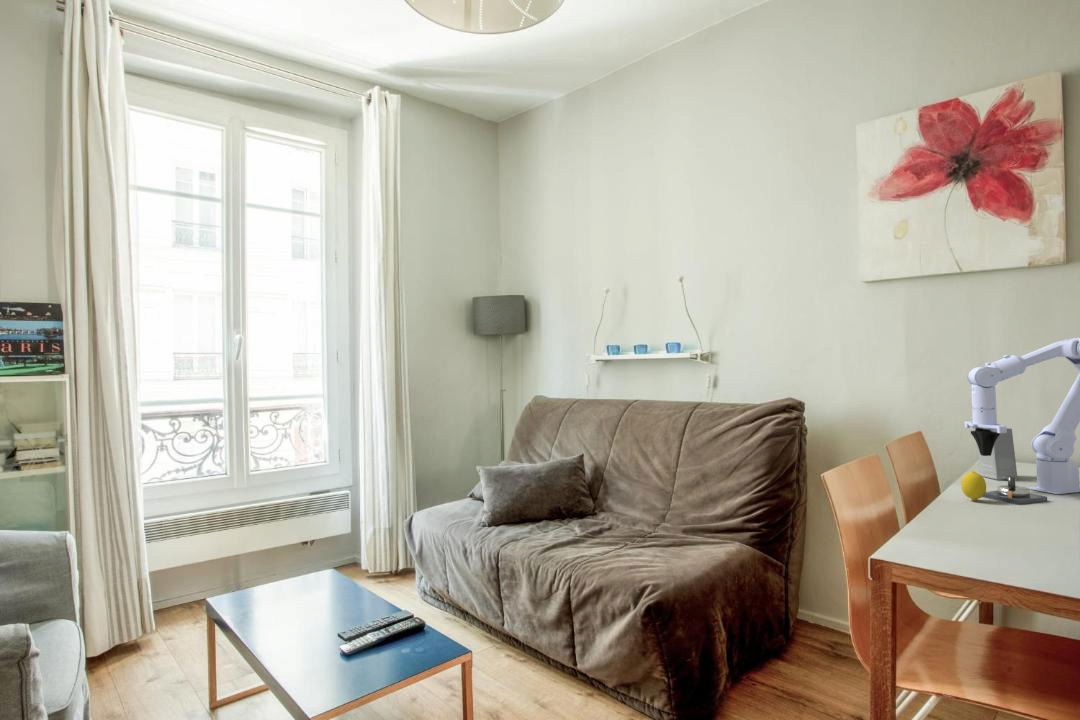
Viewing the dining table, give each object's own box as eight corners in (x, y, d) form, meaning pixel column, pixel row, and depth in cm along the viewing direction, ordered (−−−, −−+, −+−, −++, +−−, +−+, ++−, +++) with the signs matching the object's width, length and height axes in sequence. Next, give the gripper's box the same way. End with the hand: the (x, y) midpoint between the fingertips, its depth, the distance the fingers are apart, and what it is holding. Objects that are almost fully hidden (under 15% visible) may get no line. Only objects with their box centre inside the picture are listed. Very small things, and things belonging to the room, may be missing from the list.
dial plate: (1010, 493, 172) (1009, 482, 172) (1047, 501, 162) (1046, 489, 162) (981, 496, 169) (981, 485, 169) (1017, 504, 159) (1017, 493, 160)
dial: (991, 492, 168) (990, 474, 168) (1010, 489, 170) (1009, 471, 170) (1017, 497, 161) (1016, 478, 161) (1036, 495, 163) (1036, 476, 163)
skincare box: (1018, 480, 188) (1016, 428, 188) (994, 480, 189) (992, 429, 189) (998, 474, 197) (996, 425, 197) (975, 475, 197) (974, 426, 197)
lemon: (978, 498, 167) (977, 469, 167) (991, 503, 162) (990, 473, 162) (957, 498, 168) (956, 469, 168) (969, 503, 162) (968, 473, 162)
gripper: (953, 406, 185) (955, 452, 185) (987, 410, 170) (989, 459, 170) (977, 406, 184) (979, 451, 184) (1013, 410, 170) (1015, 459, 170)
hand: (985, 455), depth 177 cm, fingers closed
